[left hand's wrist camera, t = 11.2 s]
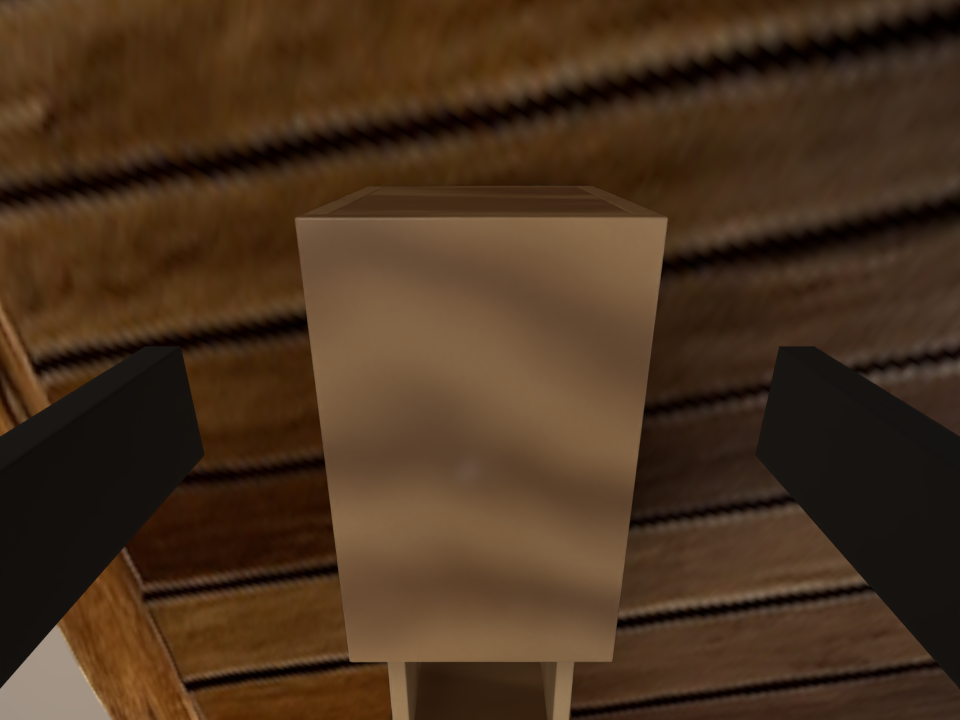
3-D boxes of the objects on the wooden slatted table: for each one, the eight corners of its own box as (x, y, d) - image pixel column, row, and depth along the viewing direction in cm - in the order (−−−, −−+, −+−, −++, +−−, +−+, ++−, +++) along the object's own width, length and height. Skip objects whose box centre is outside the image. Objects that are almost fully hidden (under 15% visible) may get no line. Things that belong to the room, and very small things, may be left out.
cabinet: (570, 496, 34) (612, 662, 23) (390, 496, 34) (349, 662, 23) (593, 185, 27) (669, 216, 16) (368, 185, 27) (293, 217, 16)
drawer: (550, 689, 39) (571, 856, 30) (411, 689, 39) (390, 856, 30) (570, 395, 30) (608, 505, 21) (391, 395, 30) (353, 505, 21)
